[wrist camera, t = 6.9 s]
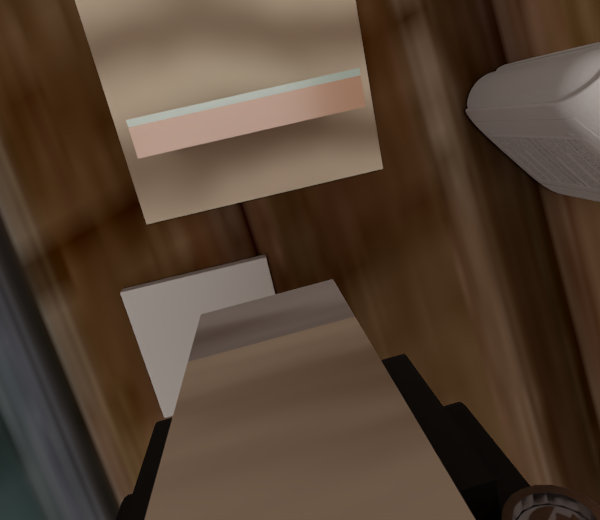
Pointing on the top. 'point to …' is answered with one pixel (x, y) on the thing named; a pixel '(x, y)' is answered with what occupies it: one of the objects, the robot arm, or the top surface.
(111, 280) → the top surface
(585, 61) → the photo printer
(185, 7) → the oak board
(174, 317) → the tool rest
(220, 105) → the tile
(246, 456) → the wooden block
